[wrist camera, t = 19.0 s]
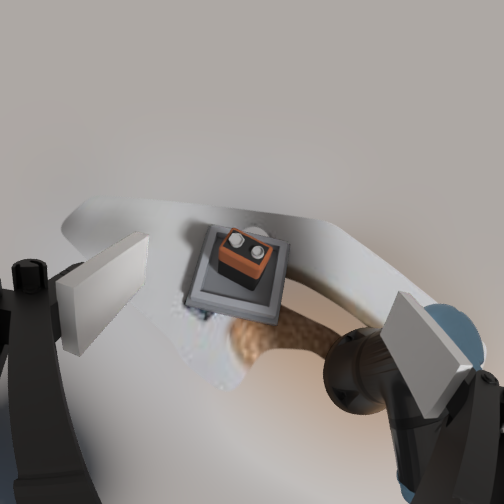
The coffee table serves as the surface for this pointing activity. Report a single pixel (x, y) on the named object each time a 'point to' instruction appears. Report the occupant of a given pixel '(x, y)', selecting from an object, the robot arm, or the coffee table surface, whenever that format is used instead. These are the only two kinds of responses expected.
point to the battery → (243, 258)
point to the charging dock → (232, 294)
